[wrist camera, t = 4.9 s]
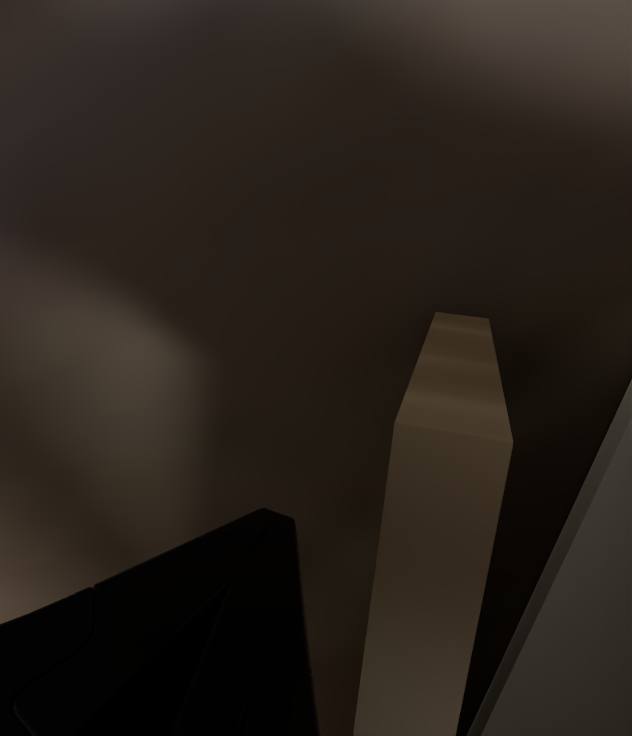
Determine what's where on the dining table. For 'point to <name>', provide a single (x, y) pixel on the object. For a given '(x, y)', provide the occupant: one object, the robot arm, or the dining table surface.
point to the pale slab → (576, 616)
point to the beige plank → (435, 534)
